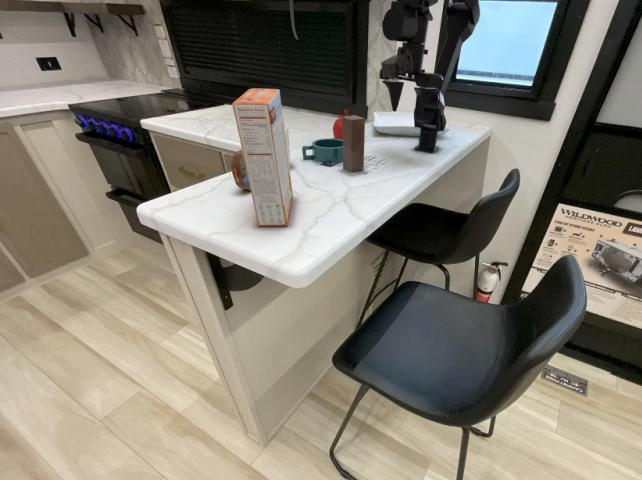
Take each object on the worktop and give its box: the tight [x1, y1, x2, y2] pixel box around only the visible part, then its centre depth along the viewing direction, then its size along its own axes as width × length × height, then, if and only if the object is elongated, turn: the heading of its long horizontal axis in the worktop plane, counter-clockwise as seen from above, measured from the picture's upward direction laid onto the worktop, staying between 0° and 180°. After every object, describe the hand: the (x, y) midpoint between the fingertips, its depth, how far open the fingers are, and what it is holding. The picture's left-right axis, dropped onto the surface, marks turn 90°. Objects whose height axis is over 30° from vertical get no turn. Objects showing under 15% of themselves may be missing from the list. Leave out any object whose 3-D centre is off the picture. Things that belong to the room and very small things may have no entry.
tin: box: [230, 148, 251, 191], centre depth 77 cm, size 15×3×8 cm, turn 168°
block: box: [341, 114, 366, 174], centre depth 85 cm, size 4×4×13 cm
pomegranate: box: [332, 109, 356, 140], centre depth 109 cm, size 10×10×9 cm
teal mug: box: [301, 138, 343, 164], centre depth 94 cm, size 13×10×4 cm
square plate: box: [372, 111, 451, 137], centre depth 127 cm, size 27×27×4 cm
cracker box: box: [231, 87, 294, 227], centre depth 62 cm, size 14×6×21 cm, turn 5°
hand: (405, 114), depth 91 cm, fingers open, 9 cm apart
